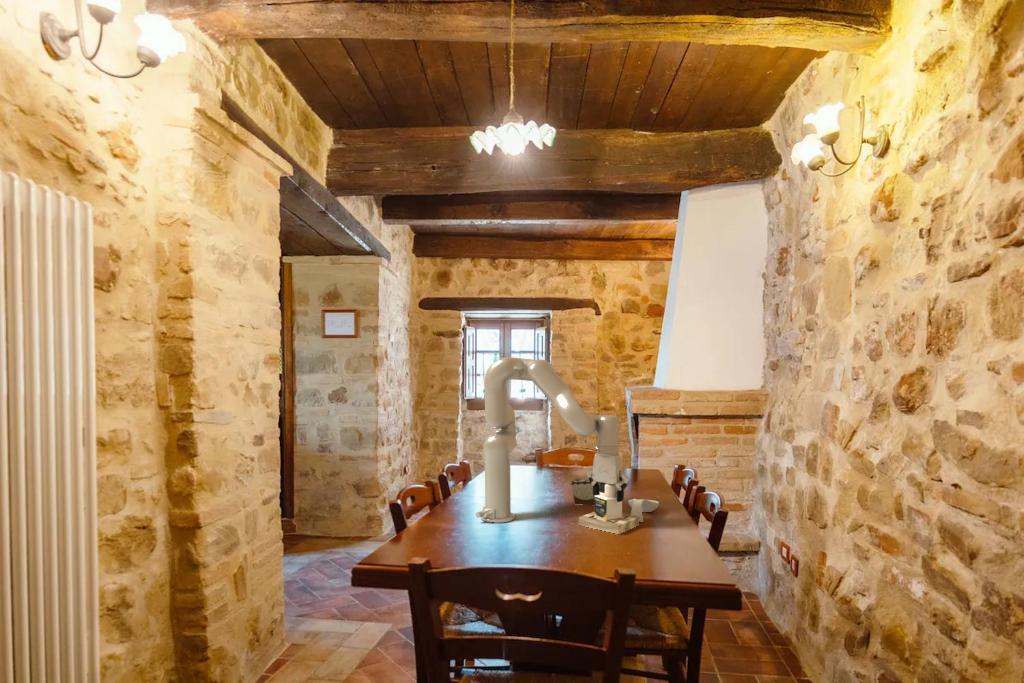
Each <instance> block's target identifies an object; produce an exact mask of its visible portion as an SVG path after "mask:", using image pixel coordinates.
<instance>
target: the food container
mask: <svg viewBox="0 0 1024 683" xmlns="http://www.w3.org/2000/svg"><path fill="white" fill-rule="evenodd" d="M598 485H599V486H600V482H599V483H598ZM570 486H571V488H572V495H573V497H572V498H573V505H574V504H583V505H594V497H593V486H592V485H591V482H590V481H589V478H588V477H579V478H578V477H576V478H573V479H571V481H570Z"/></svg>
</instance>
